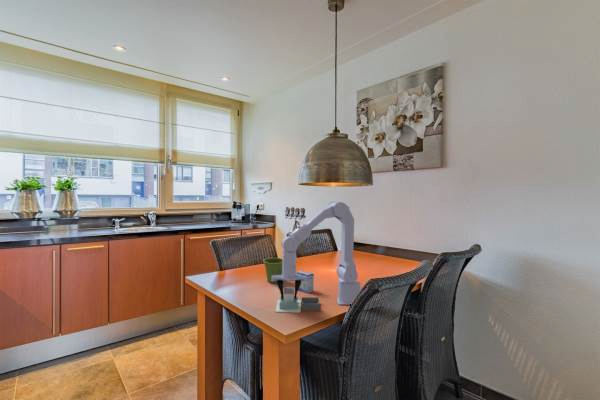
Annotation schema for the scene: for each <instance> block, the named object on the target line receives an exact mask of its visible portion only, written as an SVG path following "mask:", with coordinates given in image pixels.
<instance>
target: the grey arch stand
mask: <svg viewBox="0 0 600 400" xmlns="http://www.w3.org/2000/svg"><path fill="white" fill-rule="evenodd" d="M319 299H320V298H319V297H318V296H317V297H316V296H302V297H301V311H320V309H321V307H320V302H319V301H320V300H319Z"/></svg>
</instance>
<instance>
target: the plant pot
mask: <svg viewBox="0 0 600 400" xmlns="http://www.w3.org/2000/svg"><path fill="white" fill-rule="evenodd" d="M262 262H263V263H264V267H265V272H266V273H265V274H266V281H267V282H268V283H270V284H273V283H274V284H277V281H271V277H272V275H282V257H269V258H264V259H263V261H262Z"/></svg>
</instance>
